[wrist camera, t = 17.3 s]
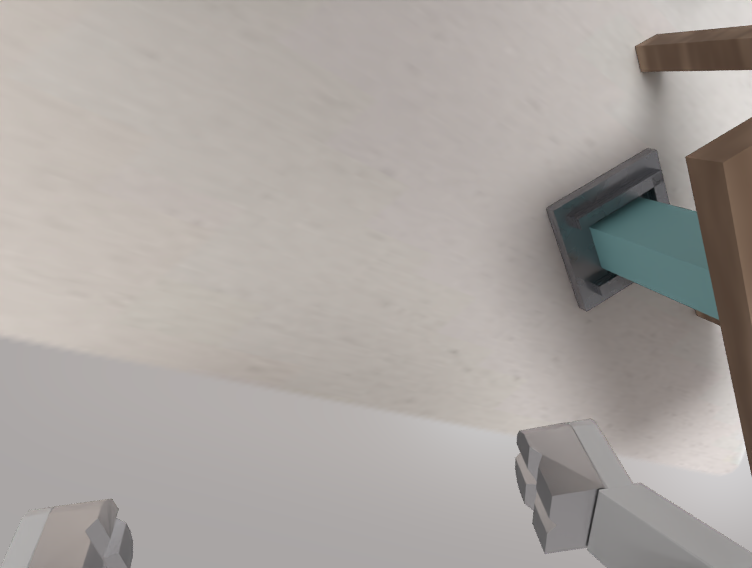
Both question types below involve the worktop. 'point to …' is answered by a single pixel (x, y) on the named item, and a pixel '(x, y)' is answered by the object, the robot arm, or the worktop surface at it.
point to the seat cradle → (591, 207)
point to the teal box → (657, 251)
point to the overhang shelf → (721, 197)
